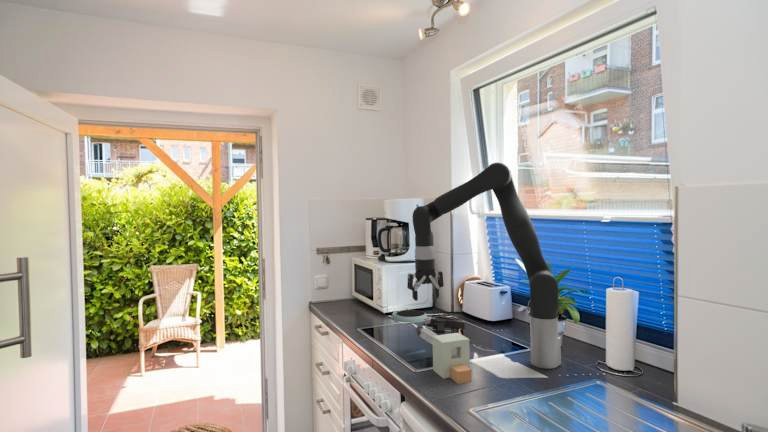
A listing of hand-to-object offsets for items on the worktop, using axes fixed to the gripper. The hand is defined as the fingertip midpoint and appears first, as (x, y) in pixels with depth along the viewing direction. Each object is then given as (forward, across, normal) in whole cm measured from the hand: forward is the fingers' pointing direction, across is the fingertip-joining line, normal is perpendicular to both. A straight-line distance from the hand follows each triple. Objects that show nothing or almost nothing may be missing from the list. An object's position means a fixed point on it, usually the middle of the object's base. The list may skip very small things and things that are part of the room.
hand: (426, 299), depth 167 cm
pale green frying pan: (+22, +14, +56) cm, 62 cm away
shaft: (+16, 0, -8) cm, 18 cm away
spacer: (+22, 0, -27) cm, 34 cm away
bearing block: (+21, 0, -20) cm, 29 cm away
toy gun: (+22, +20, +30) cm, 42 cm away
